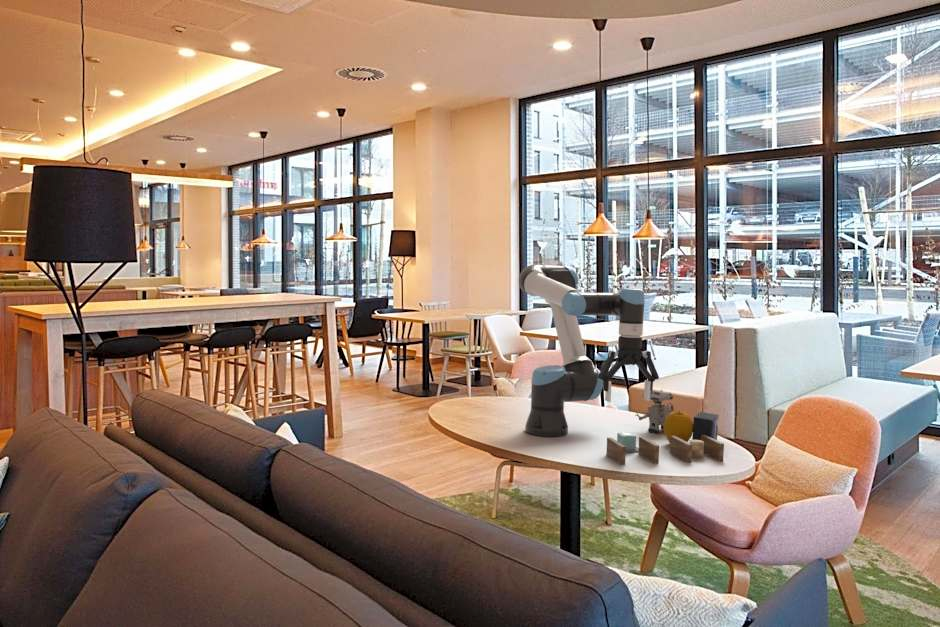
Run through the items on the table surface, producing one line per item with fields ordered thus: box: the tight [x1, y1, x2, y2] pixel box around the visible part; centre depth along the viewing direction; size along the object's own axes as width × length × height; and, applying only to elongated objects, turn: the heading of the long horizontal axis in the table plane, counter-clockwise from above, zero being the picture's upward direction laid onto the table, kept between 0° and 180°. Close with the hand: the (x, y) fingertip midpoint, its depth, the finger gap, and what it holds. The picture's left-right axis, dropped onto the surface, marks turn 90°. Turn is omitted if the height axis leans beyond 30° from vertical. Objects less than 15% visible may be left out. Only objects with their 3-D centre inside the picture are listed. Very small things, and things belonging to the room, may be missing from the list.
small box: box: [691, 411, 719, 441], centre depth 231 cm, size 11×6×10 cm, turn 149°
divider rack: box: [606, 435, 725, 466], centre depth 215 cm, size 34×11×6 cm, turn 102°
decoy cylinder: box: [688, 439, 704, 460], centre depth 217 cm, size 4×4×5 cm
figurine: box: [635, 389, 675, 435], centre depth 251 cm, size 9×12×15 cm
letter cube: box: [616, 432, 637, 450], centre depth 224 cm, size 4×4×5 cm
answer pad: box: [626, 446, 639, 454], centre depth 225 cm, size 8×8×1 cm
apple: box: [662, 410, 693, 444], centre depth 231 cm, size 10×10×12 cm
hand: (627, 400), depth 224 cm, fingers open, 13 cm apart
